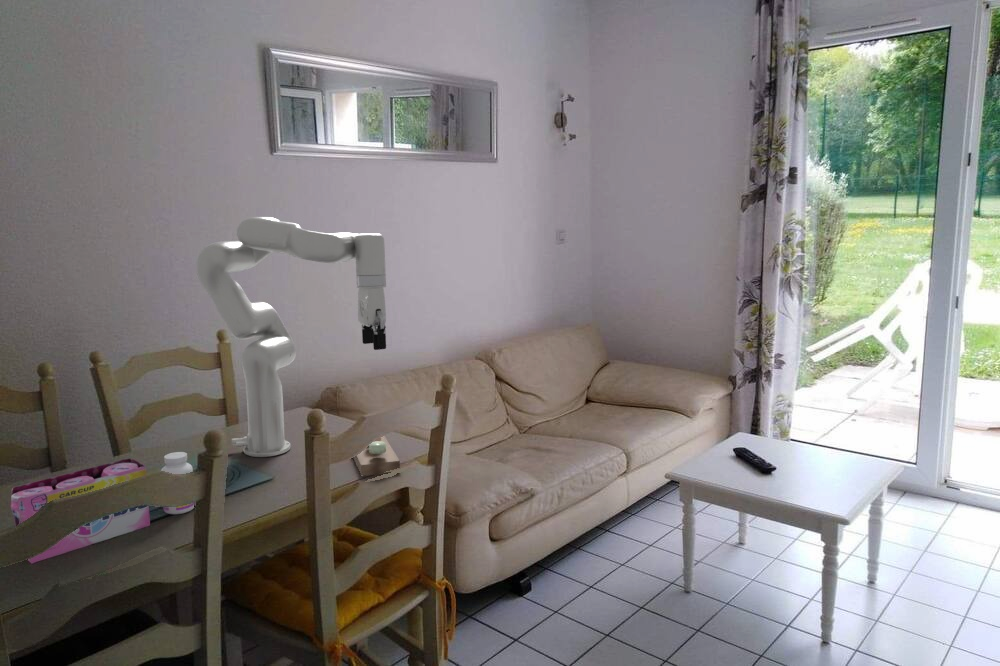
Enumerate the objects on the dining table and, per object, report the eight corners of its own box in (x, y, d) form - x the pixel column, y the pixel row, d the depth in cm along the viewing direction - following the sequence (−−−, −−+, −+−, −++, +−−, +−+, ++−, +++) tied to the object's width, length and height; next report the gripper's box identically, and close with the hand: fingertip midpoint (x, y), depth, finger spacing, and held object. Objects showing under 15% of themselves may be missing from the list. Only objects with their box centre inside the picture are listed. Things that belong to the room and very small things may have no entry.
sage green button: (370, 454, 181) (370, 447, 181) (367, 449, 185) (367, 442, 185) (387, 453, 183) (387, 445, 182) (384, 447, 187) (384, 440, 186)
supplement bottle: (201, 504, 162) (197, 450, 160) (185, 516, 155) (181, 461, 153) (173, 502, 162) (169, 449, 160) (157, 514, 156) (152, 459, 154)
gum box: (23, 567, 133) (15, 500, 130) (9, 554, 138) (1, 489, 135) (151, 525, 151) (146, 465, 148) (135, 515, 156) (130, 456, 153)
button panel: (361, 476, 179) (361, 465, 179) (349, 448, 200) (348, 438, 199) (399, 471, 183) (399, 460, 182) (384, 445, 203) (383, 435, 203)
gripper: (348, 279, 188) (351, 342, 191) (367, 285, 172) (370, 353, 175) (375, 278, 191) (377, 339, 194) (396, 283, 176) (398, 350, 179)
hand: (374, 346), depth 185 cm, fingers open, 9 cm apart
